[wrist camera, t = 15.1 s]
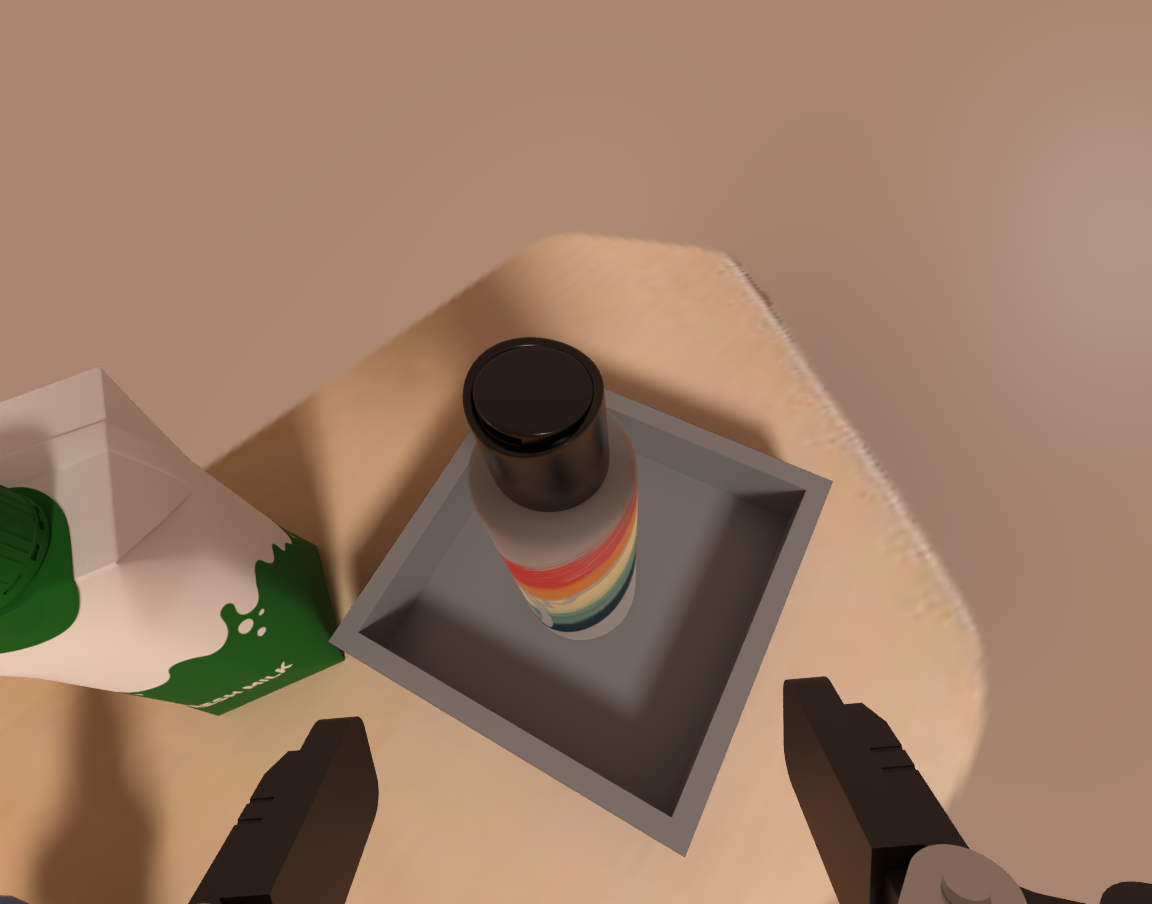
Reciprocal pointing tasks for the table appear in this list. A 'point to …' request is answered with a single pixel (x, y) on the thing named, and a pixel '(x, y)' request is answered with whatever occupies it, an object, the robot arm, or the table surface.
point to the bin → (622, 656)
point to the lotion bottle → (554, 482)
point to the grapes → (10, 900)
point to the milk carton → (144, 561)
